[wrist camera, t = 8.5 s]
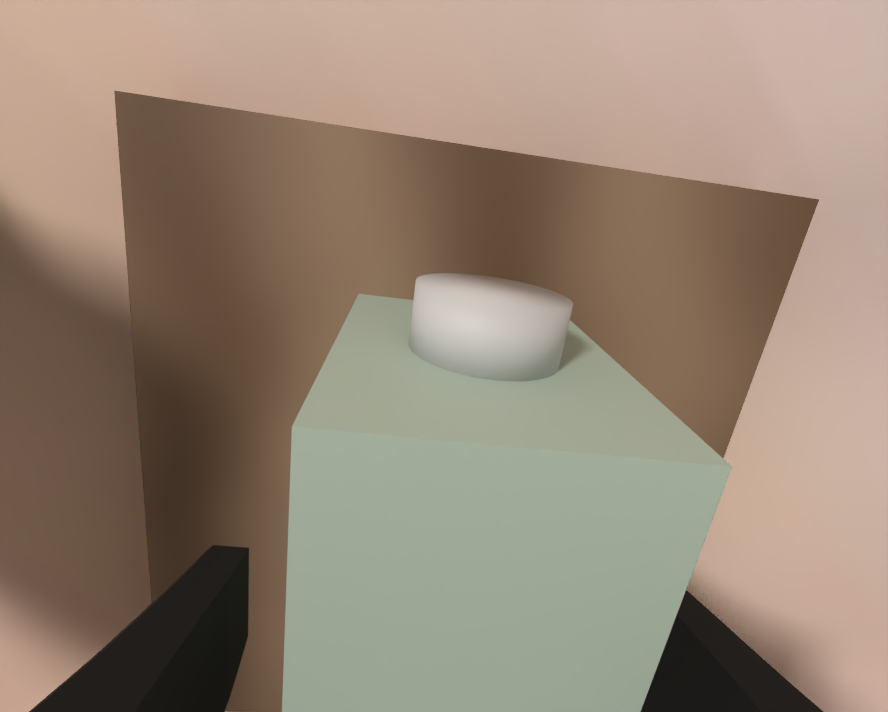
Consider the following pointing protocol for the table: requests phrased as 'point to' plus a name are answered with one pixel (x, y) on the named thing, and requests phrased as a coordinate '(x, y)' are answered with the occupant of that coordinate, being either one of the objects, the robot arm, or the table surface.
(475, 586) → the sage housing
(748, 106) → the table surface
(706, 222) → the walnut stand
